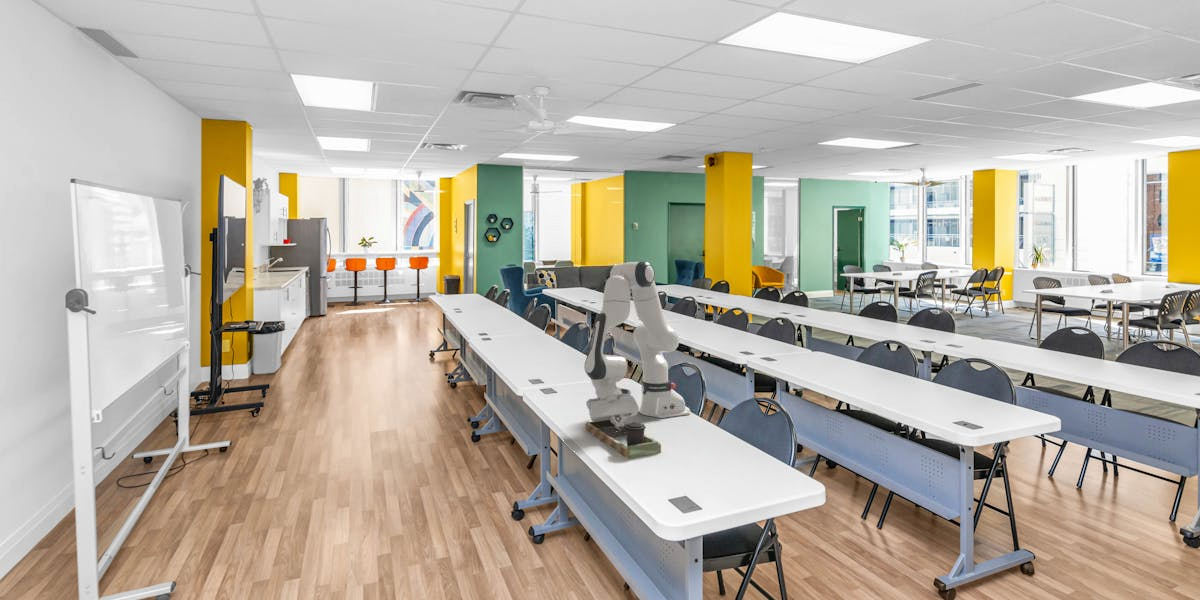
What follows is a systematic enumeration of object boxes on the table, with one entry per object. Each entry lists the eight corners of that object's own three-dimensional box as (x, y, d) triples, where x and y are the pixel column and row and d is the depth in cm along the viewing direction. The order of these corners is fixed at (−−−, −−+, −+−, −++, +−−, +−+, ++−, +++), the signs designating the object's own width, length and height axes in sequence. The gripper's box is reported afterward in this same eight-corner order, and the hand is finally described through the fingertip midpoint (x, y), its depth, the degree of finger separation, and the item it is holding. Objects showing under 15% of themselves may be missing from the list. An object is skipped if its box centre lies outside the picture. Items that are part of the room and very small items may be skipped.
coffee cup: (636, 445, 239) (636, 419, 237) (650, 451, 232) (650, 424, 231) (619, 449, 234) (619, 423, 233) (632, 455, 227) (632, 428, 226)
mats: (592, 430, 256) (592, 430, 256) (614, 427, 260) (614, 426, 260) (604, 438, 246) (604, 438, 246) (627, 435, 250) (627, 434, 250)
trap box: (585, 429, 257) (585, 420, 257) (616, 425, 263) (616, 415, 263) (627, 458, 225) (627, 447, 224) (660, 452, 231) (661, 441, 230)
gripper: (587, 395, 246) (598, 427, 238) (633, 389, 254) (645, 419, 247) (582, 404, 250) (593, 435, 242) (628, 397, 259) (640, 427, 251)
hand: (620, 427), depth 245 cm, fingers closed
